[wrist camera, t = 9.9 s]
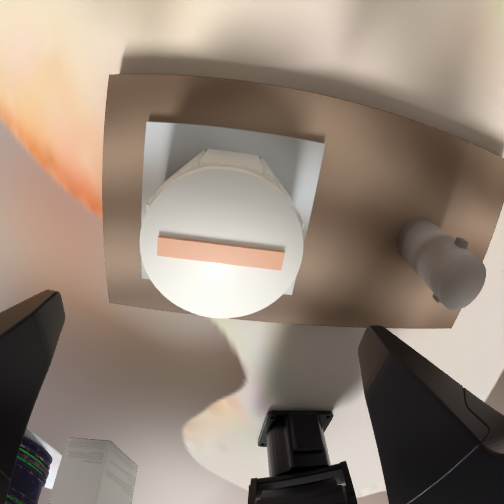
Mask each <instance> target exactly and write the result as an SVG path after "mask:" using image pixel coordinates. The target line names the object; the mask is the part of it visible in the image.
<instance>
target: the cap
mask: <svg viewBox="0 0 504 504" xmlns="http://www.w3.org/2000/svg"><path fill="white" fill-rule="evenodd" d="M302 220H303V219H302V217H301V215H300V213H299V211H298V210H297V208H296V206H295V204H294V202H293V200H292V198H291V196H290V195H289V193H288V192H287V191H286V189H285V188H284V186H283V185H282V184H281V182H280V181H279V180H278V178H277V177H276V175H275V174H274V173H273V171H272V170H271V169H270V167H269V166H268V165H267V163H266V162H265V161H264V159H263V158H261V159H260V158H259V155H253V154H246V153H239V152H231V151H223V150H215V149H208V150H207V151H206V152H205V150H203V151H202V152H201V153H199V154H198V155H197V156H196V157H194V158H193V159H192V160H190V161H189V162H188V163H187V164H185V165H184V166H183V167H182V168H180V169H179V170H178V171H177V172H176V173H174V174H173V175H172V176H171V177H169V178H168V179H167V180H166V181H165V182H164V183H163V184H162V186H161V187H160V188H159V189H158V190H157V191H156V192H155V194H154V195H153V196H152V197H151V198H150V199H149V202H148V204H147V207H146V215H145V217H144V220H143V222H142V227H141V231H140V253H141V258H142V262H143V265H144V268H145V270H146V272H147V274H148V276H149V278H150V280H151V281H152V283H153V284H154V286H155V287H156V288H157V289H158V290H159V291H160V293H161V294H163V295H164V296H165V297H166V298H167V299H168V300H169V301H171V302H172V303H174V304H175V305H177V306H179V307H180V308H182V309H184V310H186V311H189V312H191V313H194V314H197V315H201V316H205V317H211V318H235V317H242V316H245V315H249V314H252V313H255V312H257V311H260V310H262V309H264V308H265V307H267V306H269V305H270V304H272V303H273V302H275V301H276V300H277V299H278V298H279V297H281V296H282V295H283V294H284V293H285V291H286V290H287V289H288V288H289V287H290V285H291V284H292V282H293V281H294V279H295V277H296V275H297V273H298V271H299V268H300V265H301V262H302V256H303V234H302V230H303V225H304V224H303V222H302Z"/></svg>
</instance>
